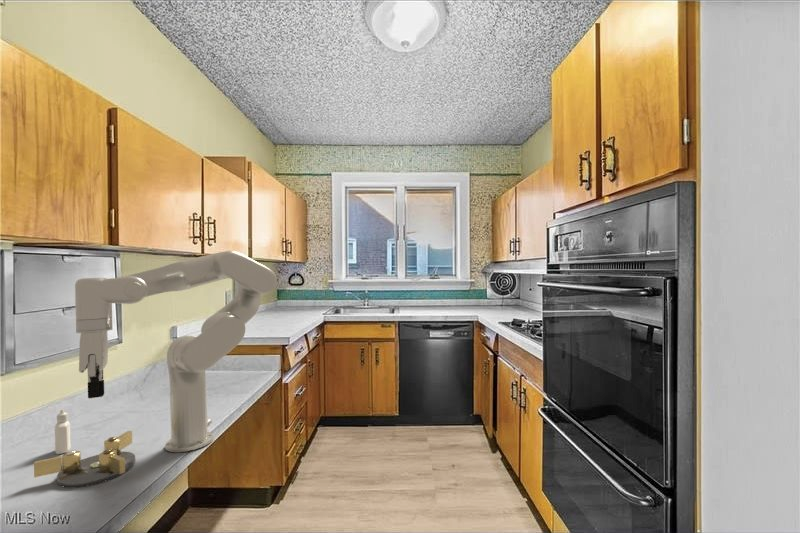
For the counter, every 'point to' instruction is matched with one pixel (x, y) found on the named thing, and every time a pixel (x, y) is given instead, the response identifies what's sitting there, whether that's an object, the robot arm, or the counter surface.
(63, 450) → the eye dropper bottle
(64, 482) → the base
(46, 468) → the knob
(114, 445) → the knob
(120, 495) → the counter surface
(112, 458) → the knob
